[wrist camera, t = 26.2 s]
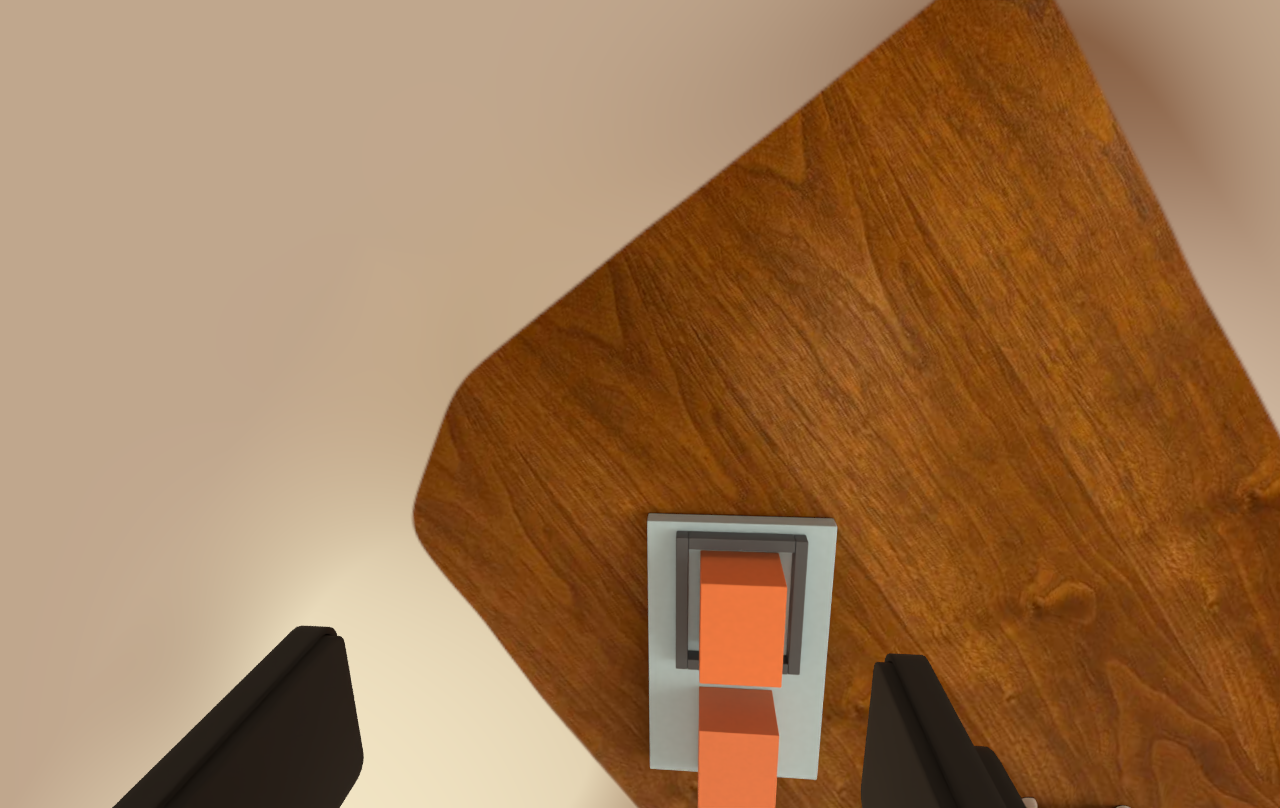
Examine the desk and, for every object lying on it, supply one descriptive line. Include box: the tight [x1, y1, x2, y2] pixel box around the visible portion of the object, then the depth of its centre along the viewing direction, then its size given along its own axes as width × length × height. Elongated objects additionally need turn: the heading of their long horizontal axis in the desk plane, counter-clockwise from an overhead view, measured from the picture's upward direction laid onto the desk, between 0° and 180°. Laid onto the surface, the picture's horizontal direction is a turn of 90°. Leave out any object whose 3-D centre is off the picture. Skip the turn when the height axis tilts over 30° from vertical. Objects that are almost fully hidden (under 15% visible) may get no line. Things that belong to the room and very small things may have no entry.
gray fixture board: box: [647, 513, 837, 808], centre depth 40 cm, size 12×20×5 cm, turn 1°
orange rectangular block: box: [699, 550, 787, 688], centre depth 38 cm, size 5×7×4 cm
